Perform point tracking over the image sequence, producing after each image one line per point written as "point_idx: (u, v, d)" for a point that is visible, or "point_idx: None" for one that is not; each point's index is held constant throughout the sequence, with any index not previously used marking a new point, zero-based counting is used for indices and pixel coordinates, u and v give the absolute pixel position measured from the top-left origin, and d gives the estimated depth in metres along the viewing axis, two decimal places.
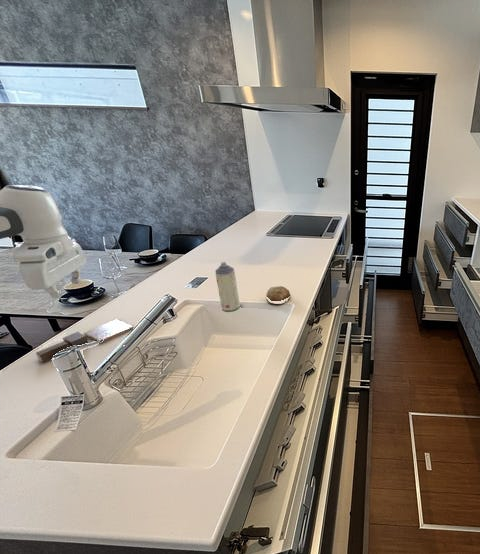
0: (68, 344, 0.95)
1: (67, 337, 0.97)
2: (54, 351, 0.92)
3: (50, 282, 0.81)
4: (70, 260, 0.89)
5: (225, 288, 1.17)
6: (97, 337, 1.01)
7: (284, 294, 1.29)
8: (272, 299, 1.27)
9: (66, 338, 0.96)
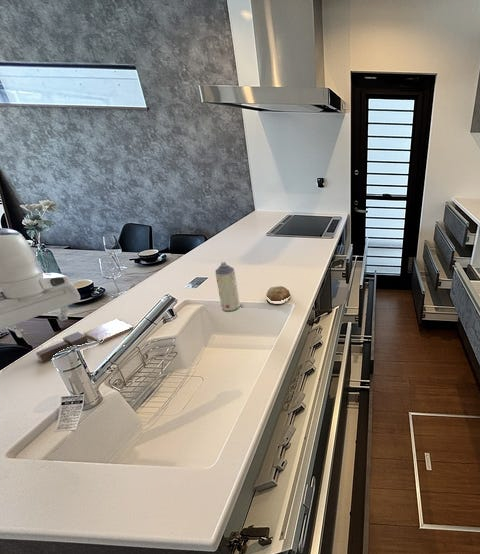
0: (68, 344, 0.95)
1: (67, 337, 0.97)
2: (54, 351, 0.92)
3: None
4: None
5: (225, 288, 1.17)
6: (97, 337, 1.01)
7: (284, 294, 1.29)
8: (272, 299, 1.27)
9: (66, 338, 0.96)
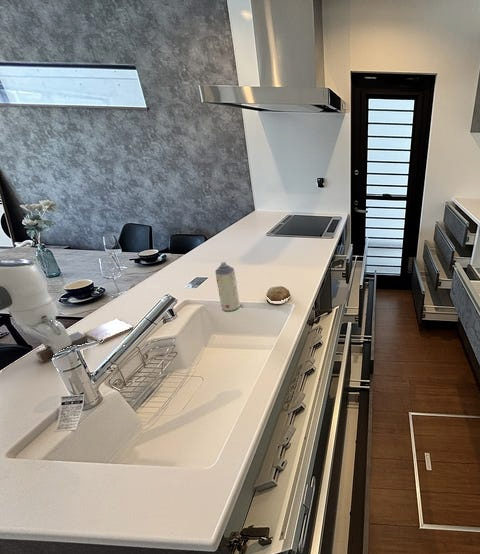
0: None
1: None
2: None
3: (26, 331, 0.92)
4: (40, 334, 0.88)
5: (225, 288, 1.17)
6: (97, 337, 1.01)
7: (284, 294, 1.29)
8: (272, 299, 1.27)
9: None
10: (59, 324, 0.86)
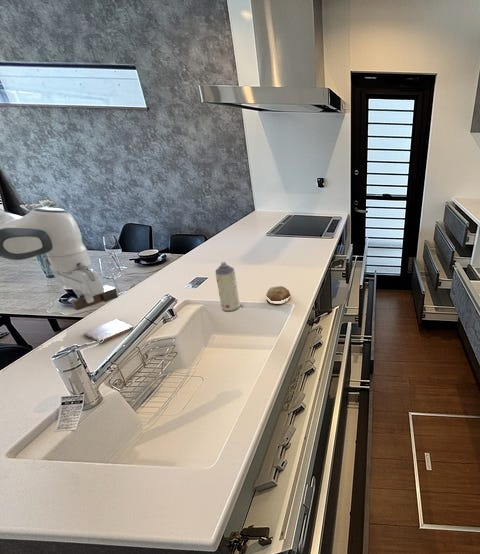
0: (99, 295, 1.00)
1: None
2: None
3: (60, 281, 0.97)
4: (75, 281, 0.92)
5: (225, 288, 1.17)
6: (97, 337, 1.01)
7: (284, 294, 1.29)
8: (272, 299, 1.27)
9: None
10: (93, 271, 0.91)
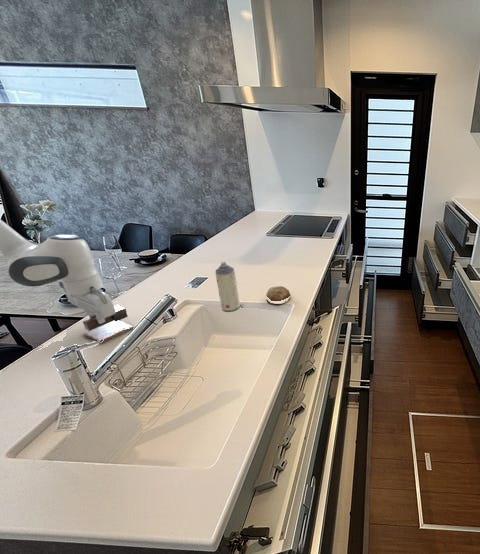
0: None
1: None
2: None
3: (72, 302, 1.01)
4: (87, 303, 0.96)
5: (225, 288, 1.17)
6: (97, 337, 1.01)
7: (284, 294, 1.29)
8: (272, 299, 1.27)
9: None
10: (105, 294, 0.95)
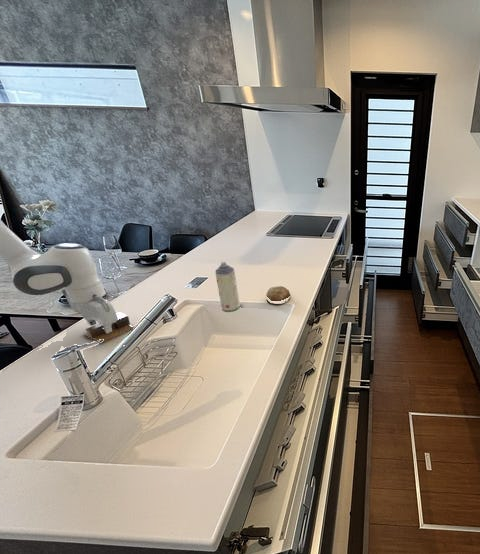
0: None
1: None
2: (101, 328, 1.03)
3: (75, 310, 1.02)
4: (90, 311, 0.98)
5: (225, 288, 1.17)
6: (97, 337, 1.01)
7: (284, 294, 1.29)
8: (272, 299, 1.27)
9: None
10: (108, 302, 0.96)
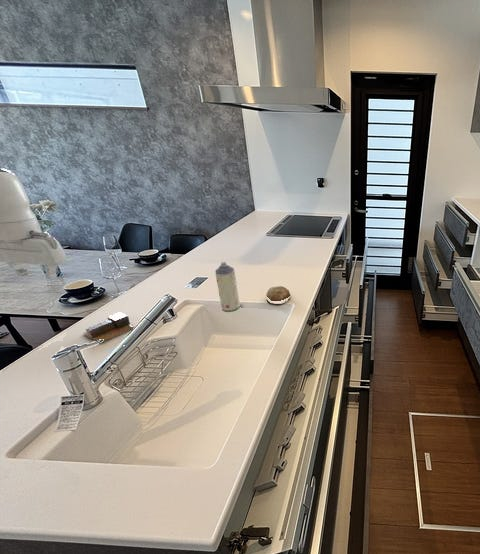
0: (112, 322, 1.05)
1: (111, 316, 1.07)
2: (101, 328, 1.03)
3: None
4: (26, 252, 0.82)
5: (225, 288, 1.17)
6: (97, 337, 1.01)
7: (284, 294, 1.29)
8: (272, 299, 1.27)
9: (110, 317, 1.06)
10: None
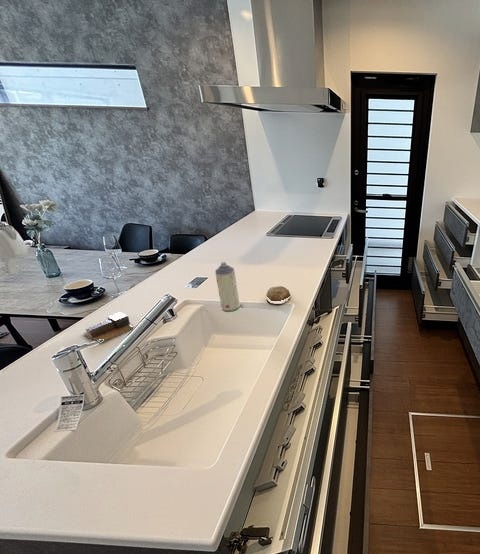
0: (112, 322, 1.05)
1: (111, 316, 1.07)
2: (101, 328, 1.03)
3: None
4: None
5: (225, 288, 1.17)
6: (97, 337, 1.01)
7: (284, 294, 1.29)
8: (272, 299, 1.27)
9: (110, 317, 1.06)
10: None
